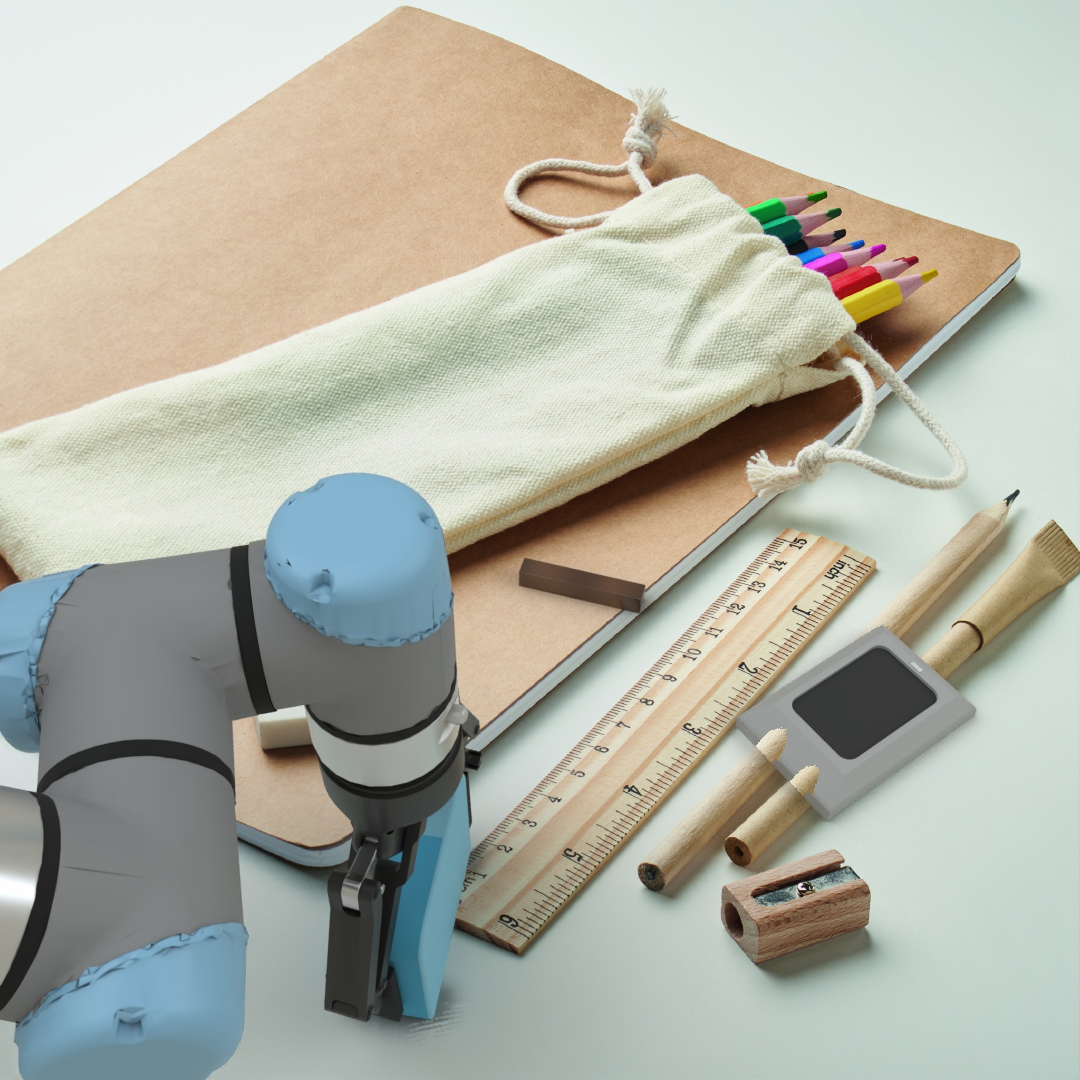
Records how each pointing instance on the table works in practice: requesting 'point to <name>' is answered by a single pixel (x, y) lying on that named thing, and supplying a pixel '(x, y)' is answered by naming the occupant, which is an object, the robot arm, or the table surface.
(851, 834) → the table surface
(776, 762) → the grey badge holder
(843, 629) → the table surface
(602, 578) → the bar
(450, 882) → the light blue thick block
